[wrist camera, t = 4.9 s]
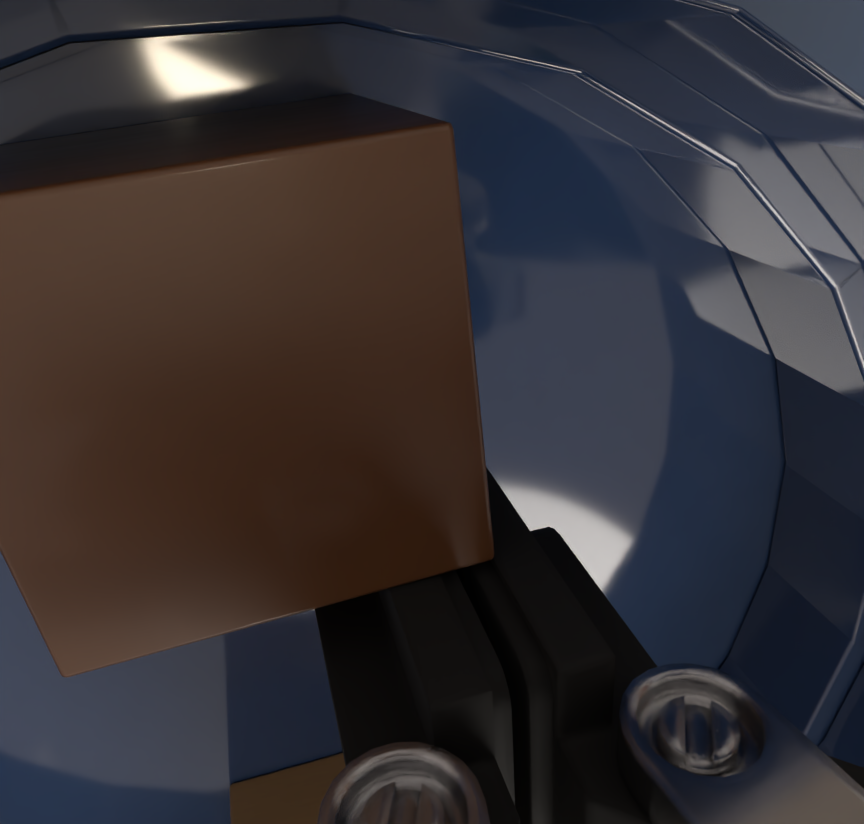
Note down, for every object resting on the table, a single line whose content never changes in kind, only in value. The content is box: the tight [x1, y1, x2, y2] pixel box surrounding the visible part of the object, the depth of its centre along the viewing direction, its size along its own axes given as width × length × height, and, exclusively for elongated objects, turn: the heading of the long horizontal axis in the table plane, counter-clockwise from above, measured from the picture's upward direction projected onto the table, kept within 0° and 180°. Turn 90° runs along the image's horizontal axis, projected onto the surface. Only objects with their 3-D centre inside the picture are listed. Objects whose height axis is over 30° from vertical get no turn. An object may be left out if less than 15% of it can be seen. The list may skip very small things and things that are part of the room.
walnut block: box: [0, 93, 494, 677], centre depth 8 cm, size 4×4×4 cm
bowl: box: [0, 0, 864, 824], centre depth 10 cm, size 19×19×5 cm
